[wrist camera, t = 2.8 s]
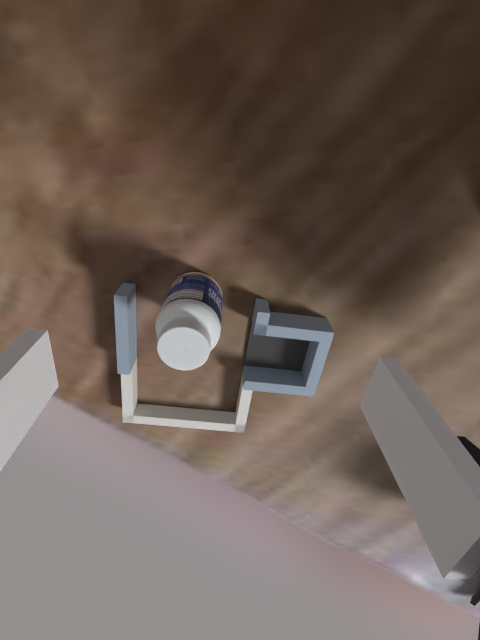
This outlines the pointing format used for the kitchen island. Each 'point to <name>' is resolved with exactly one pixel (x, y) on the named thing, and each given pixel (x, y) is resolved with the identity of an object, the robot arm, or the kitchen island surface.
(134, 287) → the blue-grey open frame
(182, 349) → the pill bottle
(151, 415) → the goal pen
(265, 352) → the pit
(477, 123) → the kitchen island surface
